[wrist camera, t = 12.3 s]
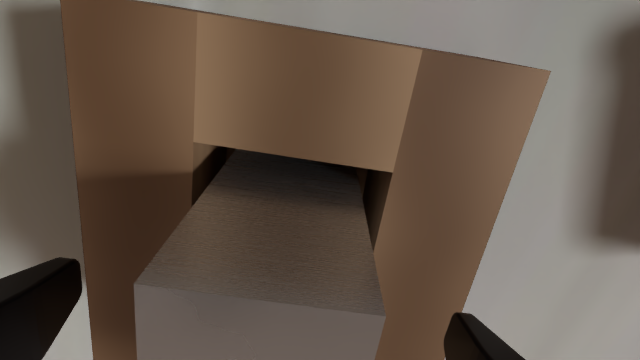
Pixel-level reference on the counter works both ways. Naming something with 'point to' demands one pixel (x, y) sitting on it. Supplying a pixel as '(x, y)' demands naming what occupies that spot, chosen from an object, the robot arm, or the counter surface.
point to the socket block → (287, 147)
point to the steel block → (265, 269)
